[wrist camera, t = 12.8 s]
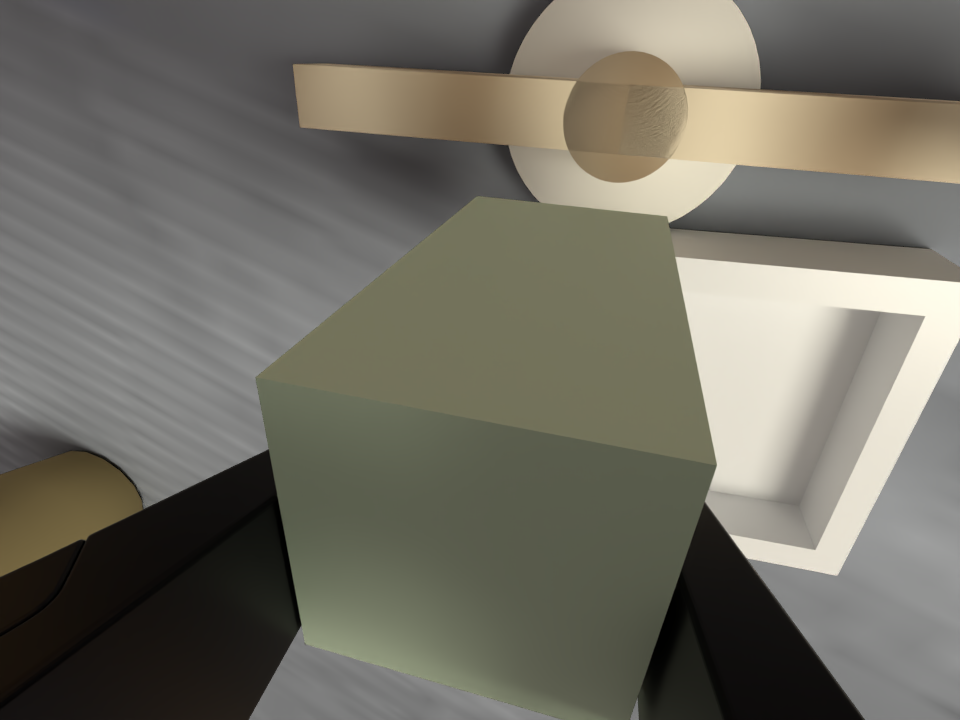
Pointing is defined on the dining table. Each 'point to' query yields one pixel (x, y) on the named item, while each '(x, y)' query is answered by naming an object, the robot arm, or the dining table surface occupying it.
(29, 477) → the squeeze bottle
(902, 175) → the crank
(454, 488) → the block
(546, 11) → the crank housing
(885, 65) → the dining table surface
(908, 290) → the tray
